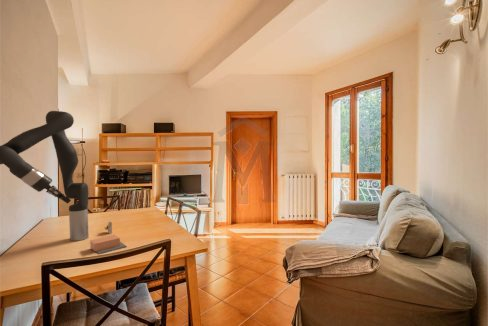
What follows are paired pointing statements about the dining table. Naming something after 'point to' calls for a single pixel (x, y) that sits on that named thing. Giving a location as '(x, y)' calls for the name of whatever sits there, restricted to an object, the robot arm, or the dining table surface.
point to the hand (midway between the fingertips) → (69, 201)
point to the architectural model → (109, 227)
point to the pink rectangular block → (104, 243)
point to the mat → (112, 248)
